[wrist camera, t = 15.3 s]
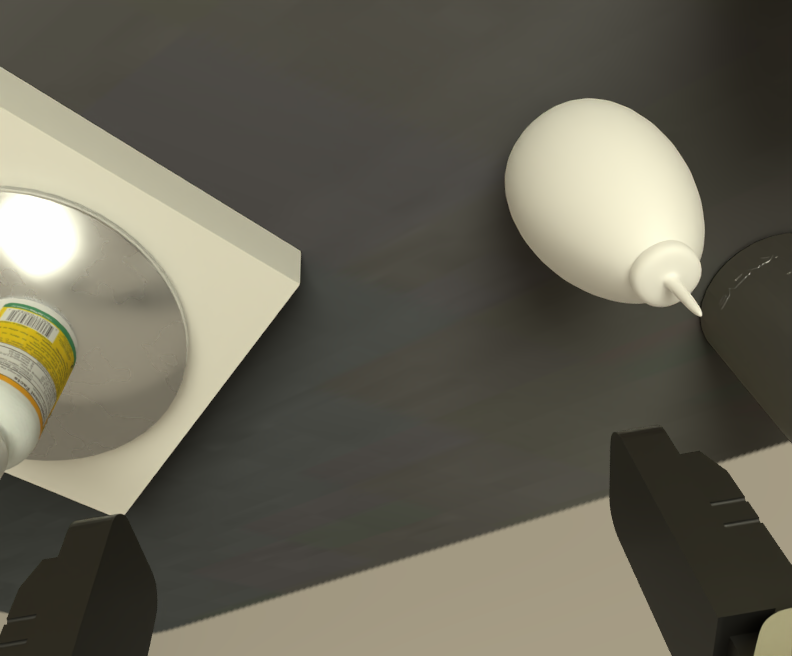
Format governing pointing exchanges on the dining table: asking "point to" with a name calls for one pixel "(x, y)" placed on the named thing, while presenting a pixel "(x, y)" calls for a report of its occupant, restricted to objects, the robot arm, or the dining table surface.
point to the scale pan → (95, 319)
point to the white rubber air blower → (608, 204)
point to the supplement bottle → (30, 373)
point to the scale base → (173, 250)
